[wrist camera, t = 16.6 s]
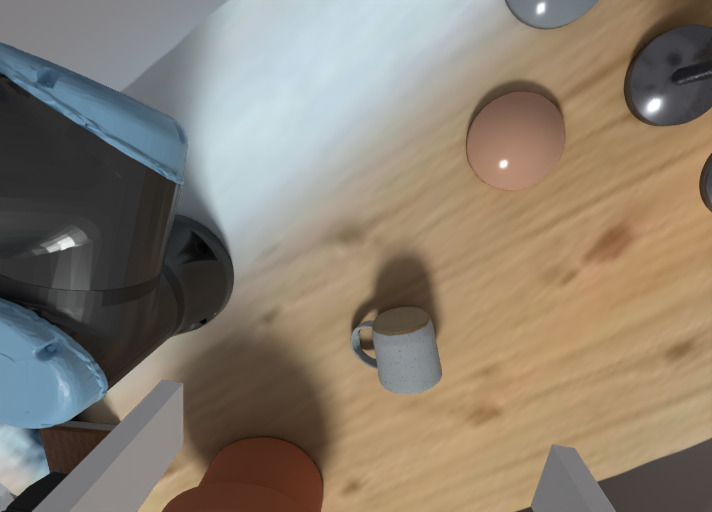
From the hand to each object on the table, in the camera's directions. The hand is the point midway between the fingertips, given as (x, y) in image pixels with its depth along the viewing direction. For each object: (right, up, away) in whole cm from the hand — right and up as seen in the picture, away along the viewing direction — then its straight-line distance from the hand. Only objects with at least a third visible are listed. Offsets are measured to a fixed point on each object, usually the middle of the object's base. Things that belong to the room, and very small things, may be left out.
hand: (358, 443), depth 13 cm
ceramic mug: (+5, -4, +34) cm, 35 cm away
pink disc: (+17, +19, +26) cm, 37 cm away
